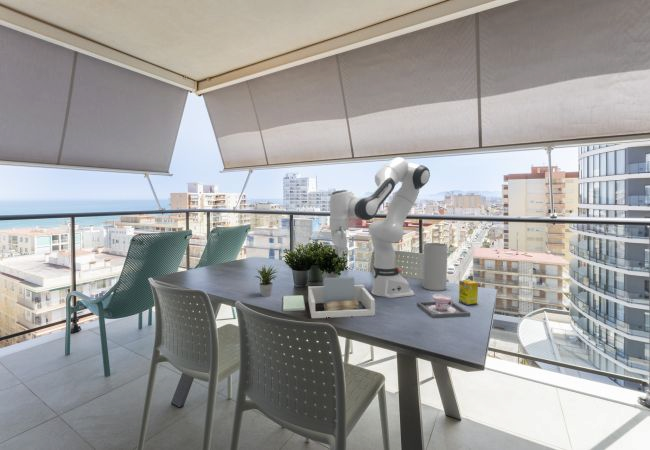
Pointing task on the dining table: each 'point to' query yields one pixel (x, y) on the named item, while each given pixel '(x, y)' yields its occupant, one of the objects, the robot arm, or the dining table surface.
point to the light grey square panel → (338, 289)
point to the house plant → (266, 281)
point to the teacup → (442, 304)
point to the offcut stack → (341, 305)
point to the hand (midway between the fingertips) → (338, 255)
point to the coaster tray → (441, 315)
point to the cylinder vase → (435, 266)
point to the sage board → (293, 303)
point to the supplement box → (468, 292)
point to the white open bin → (359, 295)
